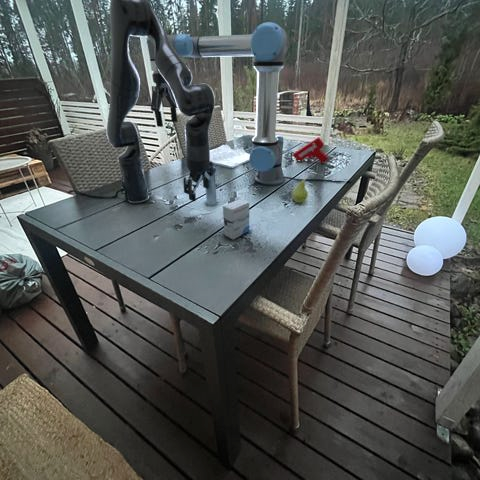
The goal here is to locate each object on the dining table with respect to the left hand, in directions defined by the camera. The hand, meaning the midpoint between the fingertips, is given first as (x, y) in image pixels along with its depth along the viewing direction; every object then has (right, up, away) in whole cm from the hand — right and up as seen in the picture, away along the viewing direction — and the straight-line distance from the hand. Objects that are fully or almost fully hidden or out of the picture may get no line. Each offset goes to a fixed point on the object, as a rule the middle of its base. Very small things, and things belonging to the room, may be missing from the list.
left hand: (199, 193), depth 98 cm
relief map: (+4, +37, +81) cm, 90 cm away
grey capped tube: (+2, 0, +23) cm, 23 cm away
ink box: (+14, -14, +1) cm, 20 cm away
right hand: (-21, +40, +34) cm, 56 cm away
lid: (+2, +13, +14) cm, 19 cm away
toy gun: (+59, +32, +73) cm, 99 cm away
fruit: (+41, 0, +23) cm, 47 cm away
